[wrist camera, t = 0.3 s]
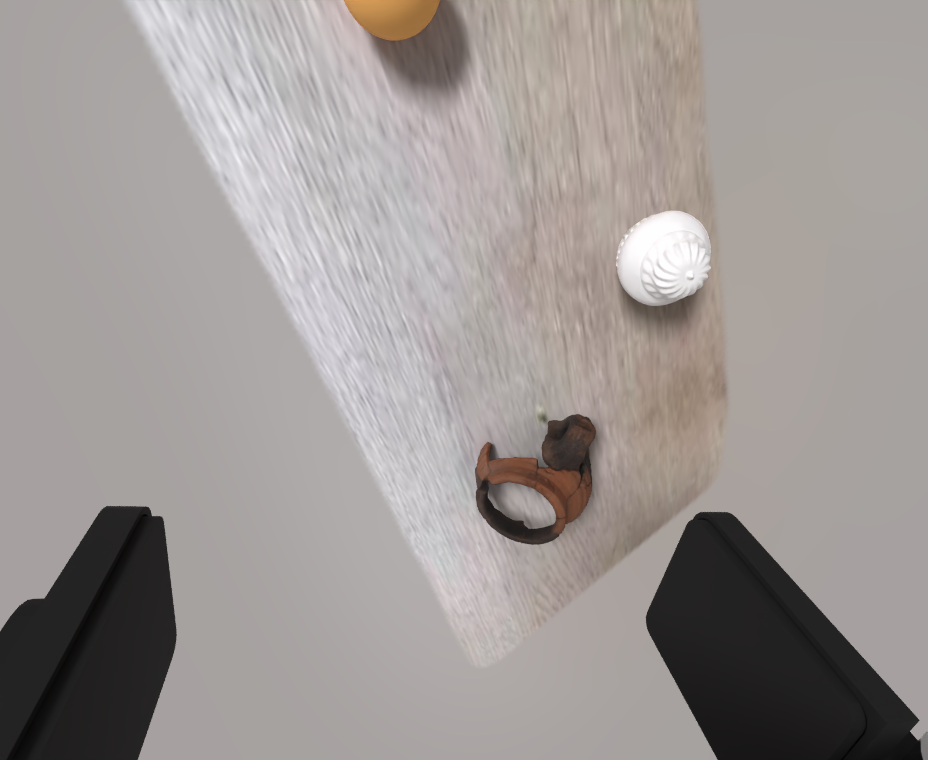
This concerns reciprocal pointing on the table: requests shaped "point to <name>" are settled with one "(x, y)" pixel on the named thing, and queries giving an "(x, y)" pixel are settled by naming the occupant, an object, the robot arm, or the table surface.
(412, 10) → the ball
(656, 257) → the muffin
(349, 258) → the table surface
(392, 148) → the table surface
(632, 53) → the table surface
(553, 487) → the broken clay pot
